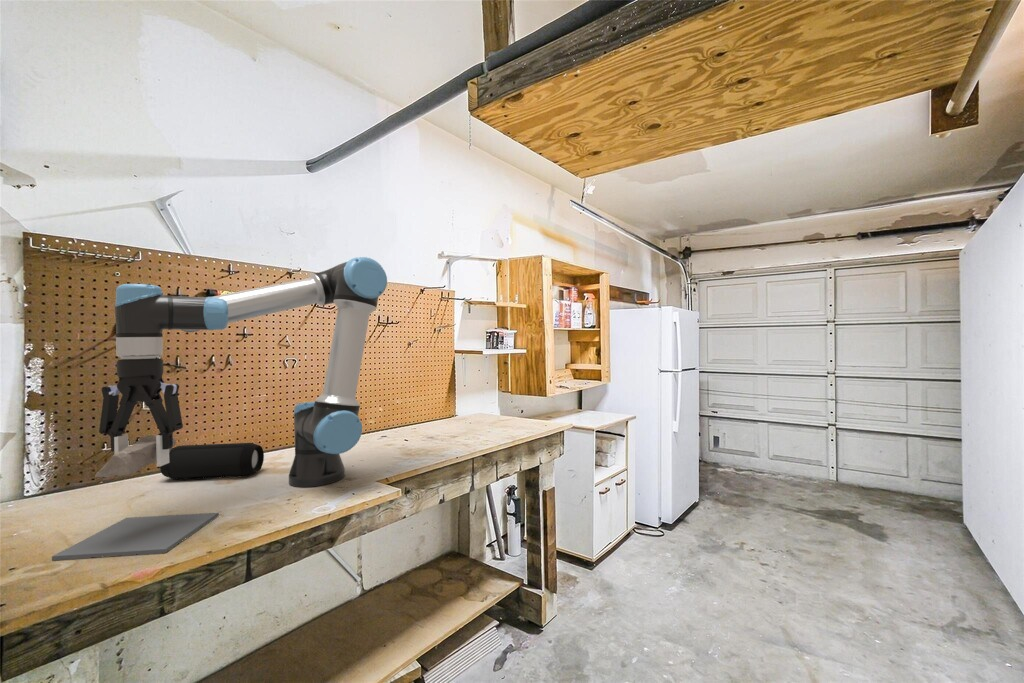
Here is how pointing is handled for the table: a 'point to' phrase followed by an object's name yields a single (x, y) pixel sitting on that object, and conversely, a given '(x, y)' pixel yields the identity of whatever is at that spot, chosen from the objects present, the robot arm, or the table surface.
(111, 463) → the concrete fragment
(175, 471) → the portable speaker
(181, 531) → the rubber mat
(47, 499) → the table surface
